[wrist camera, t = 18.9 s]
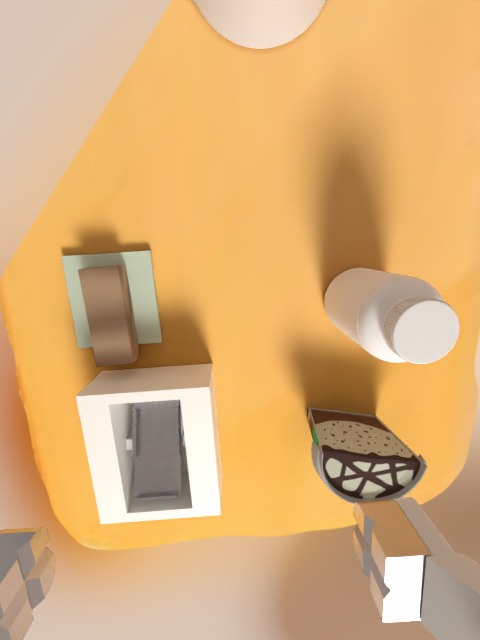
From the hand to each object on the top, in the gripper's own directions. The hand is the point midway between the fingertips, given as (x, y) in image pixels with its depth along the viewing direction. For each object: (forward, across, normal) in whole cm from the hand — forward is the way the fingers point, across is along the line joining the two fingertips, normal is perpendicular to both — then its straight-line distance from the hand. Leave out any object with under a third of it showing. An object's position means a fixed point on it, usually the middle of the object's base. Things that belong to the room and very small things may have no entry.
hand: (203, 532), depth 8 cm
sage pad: (+31, +13, -2) cm, 34 cm away
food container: (+31, -14, +18) cm, 39 cm away
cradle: (+28, +9, +15) cm, 33 cm away
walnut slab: (+30, +13, -1) cm, 33 cm away
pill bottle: (+31, -16, 0) cm, 35 cm away
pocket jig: (+31, +9, +15) cm, 36 cm away
